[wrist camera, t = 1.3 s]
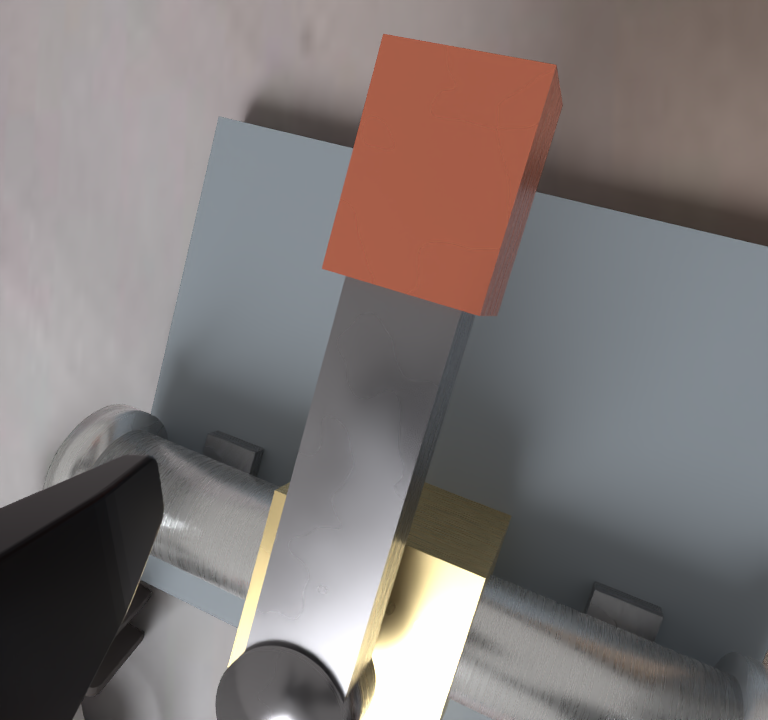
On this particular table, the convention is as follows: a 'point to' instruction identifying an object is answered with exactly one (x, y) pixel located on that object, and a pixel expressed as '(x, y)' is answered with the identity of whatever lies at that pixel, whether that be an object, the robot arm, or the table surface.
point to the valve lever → (391, 358)
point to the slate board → (510, 389)
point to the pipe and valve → (429, 598)
